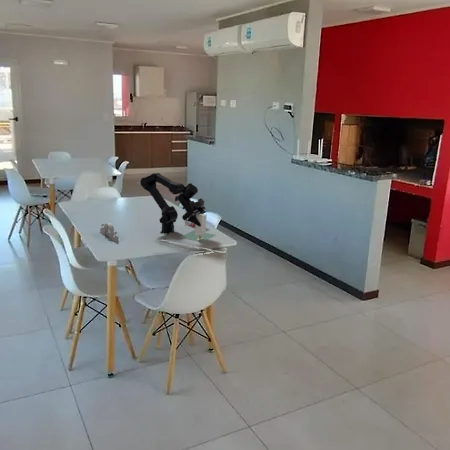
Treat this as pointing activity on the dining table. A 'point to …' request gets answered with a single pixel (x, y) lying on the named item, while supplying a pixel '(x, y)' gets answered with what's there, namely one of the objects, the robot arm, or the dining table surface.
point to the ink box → (188, 222)
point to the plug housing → (202, 228)
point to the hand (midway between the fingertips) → (202, 224)
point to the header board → (197, 236)
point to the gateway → (107, 229)
